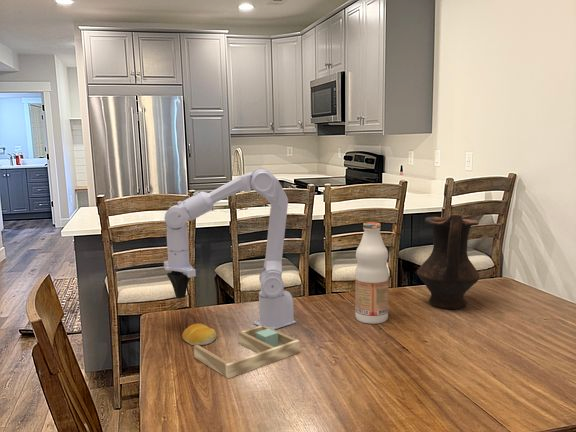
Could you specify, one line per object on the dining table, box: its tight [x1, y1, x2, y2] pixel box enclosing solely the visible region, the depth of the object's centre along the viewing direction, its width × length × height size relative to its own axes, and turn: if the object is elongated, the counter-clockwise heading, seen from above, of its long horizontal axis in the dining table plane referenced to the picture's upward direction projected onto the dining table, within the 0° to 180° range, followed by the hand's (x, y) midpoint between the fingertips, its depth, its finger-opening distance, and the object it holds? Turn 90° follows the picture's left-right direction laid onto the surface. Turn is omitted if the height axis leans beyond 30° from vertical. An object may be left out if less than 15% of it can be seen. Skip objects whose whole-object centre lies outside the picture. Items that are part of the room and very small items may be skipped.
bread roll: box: [182, 323, 217, 346], centre depth 138 cm, size 8×9×4 cm
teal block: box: [256, 329, 279, 347], centre depth 132 cm, size 4×4×4 cm
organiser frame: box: [193, 325, 301, 379], centre depth 128 cm, size 21×15×3 cm
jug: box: [416, 213, 480, 310], centre depth 159 cm, size 21×18×30 cm
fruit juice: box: [354, 221, 389, 325], centre depth 149 cm, size 9×9×28 cm
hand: (180, 297), depth 145 cm, fingers closed
